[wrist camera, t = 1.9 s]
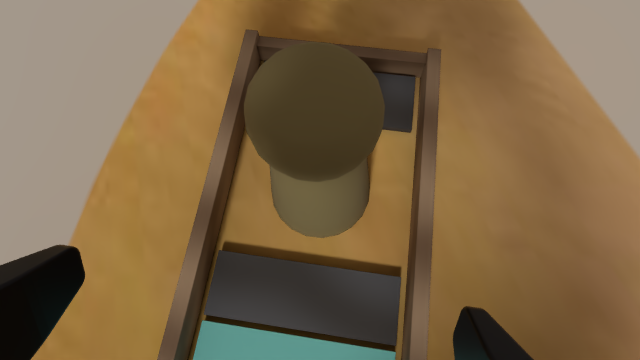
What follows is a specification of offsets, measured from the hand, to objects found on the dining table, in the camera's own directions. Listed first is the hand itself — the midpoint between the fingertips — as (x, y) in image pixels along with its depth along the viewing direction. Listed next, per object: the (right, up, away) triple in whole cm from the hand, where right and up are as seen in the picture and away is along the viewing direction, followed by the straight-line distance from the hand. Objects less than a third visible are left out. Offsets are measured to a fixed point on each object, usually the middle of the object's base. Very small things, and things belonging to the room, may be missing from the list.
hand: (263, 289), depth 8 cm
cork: (+1, +2, +14) cm, 14 cm away
